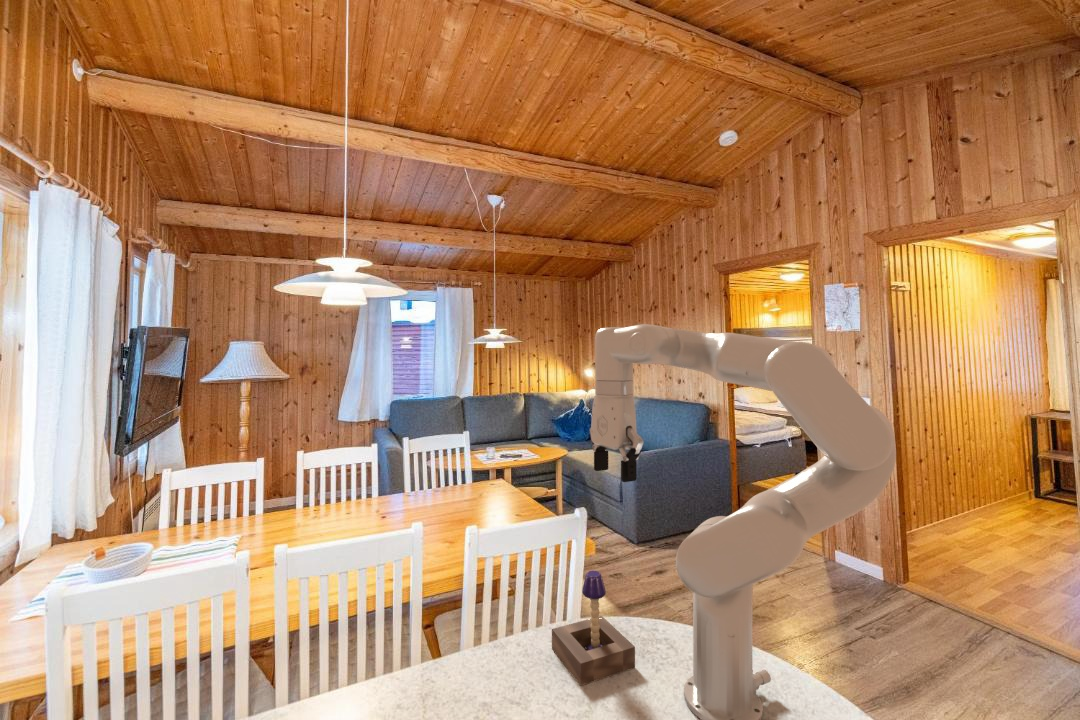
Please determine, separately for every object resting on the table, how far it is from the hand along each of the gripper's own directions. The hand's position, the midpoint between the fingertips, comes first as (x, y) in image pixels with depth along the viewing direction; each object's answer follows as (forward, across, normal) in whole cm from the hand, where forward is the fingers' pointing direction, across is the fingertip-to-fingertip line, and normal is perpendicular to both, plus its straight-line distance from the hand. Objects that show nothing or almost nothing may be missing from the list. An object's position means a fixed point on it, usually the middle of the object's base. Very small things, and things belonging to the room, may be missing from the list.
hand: (614, 475), depth 92 cm
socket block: (+36, -2, -4) cm, 37 cm away
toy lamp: (+36, -2, -3) cm, 37 cm away
